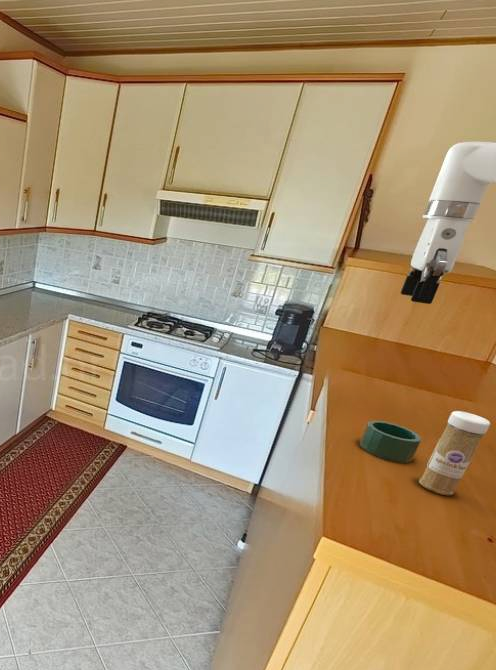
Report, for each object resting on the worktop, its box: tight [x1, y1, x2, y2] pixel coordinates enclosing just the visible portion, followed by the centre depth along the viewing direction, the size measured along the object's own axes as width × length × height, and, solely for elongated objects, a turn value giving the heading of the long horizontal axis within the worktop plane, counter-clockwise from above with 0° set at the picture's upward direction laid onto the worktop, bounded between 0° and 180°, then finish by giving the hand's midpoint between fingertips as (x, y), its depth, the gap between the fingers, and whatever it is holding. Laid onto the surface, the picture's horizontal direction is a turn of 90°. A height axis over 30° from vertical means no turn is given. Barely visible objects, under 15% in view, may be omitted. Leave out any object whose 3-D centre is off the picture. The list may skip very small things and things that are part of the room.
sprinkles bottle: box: [418, 410, 491, 496], centre depth 79 cm, size 5×5×14 cm
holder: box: [359, 420, 423, 464], centre depth 92 cm, size 8×8×4 cm
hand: (414, 298), depth 100 cm, fingers open, 9 cm apart
